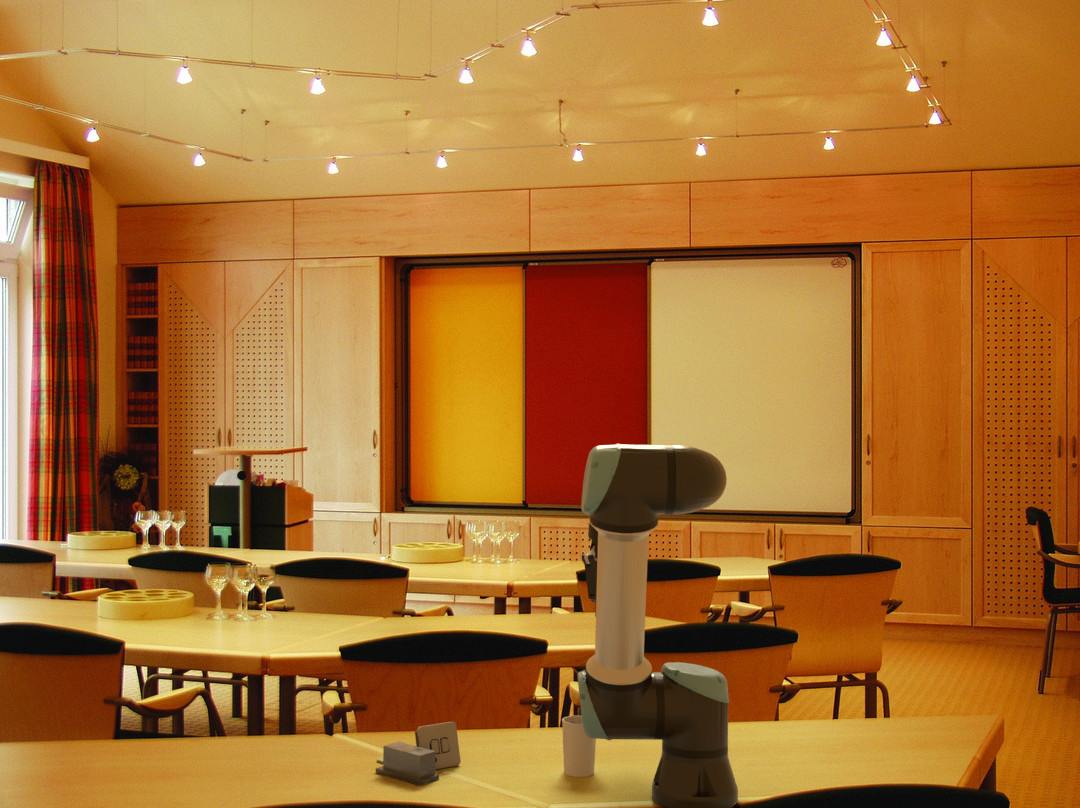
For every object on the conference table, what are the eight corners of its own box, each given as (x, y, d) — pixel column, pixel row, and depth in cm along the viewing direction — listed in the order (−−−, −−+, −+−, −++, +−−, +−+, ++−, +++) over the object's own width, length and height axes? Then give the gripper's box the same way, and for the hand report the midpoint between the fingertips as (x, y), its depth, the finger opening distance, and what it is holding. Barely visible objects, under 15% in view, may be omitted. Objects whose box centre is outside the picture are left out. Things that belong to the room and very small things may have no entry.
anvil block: (438, 779, 202) (439, 752, 202) (419, 785, 198) (419, 758, 198) (395, 766, 209) (395, 740, 210) (375, 772, 206) (376, 746, 206)
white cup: (567, 778, 203) (567, 725, 203) (557, 768, 209) (557, 716, 210) (601, 776, 205) (601, 723, 205) (590, 766, 211) (590, 714, 211)
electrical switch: (423, 772, 206) (422, 728, 207) (412, 769, 210) (411, 725, 211) (461, 766, 211) (460, 722, 212) (449, 762, 214) (448, 719, 215)
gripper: (612, 520, 236) (609, 630, 234) (572, 520, 227) (568, 634, 225) (639, 522, 231) (636, 634, 229) (600, 521, 222) (596, 638, 220)
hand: (602, 633), depth 227 cm, fingers closed
